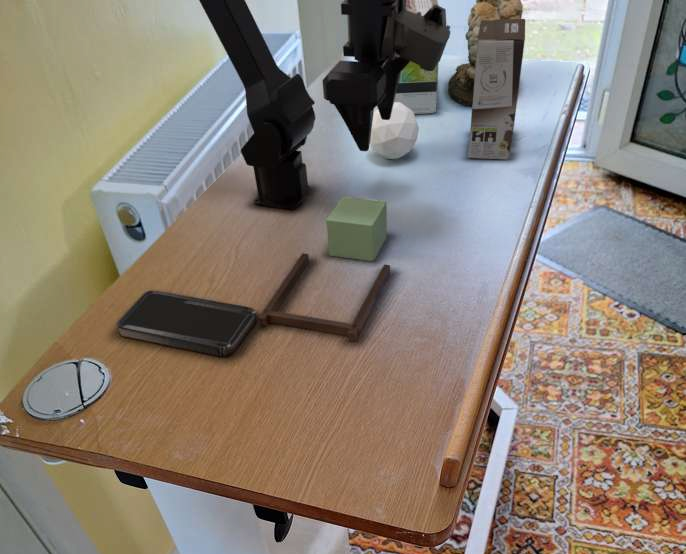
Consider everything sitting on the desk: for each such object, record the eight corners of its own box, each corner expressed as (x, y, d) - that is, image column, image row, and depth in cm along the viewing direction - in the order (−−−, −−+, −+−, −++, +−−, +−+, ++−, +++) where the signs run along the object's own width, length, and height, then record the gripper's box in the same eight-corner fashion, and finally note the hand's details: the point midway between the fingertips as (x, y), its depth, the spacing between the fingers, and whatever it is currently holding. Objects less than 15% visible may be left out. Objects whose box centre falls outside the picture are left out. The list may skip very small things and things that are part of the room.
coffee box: (510, 160, 100) (525, 39, 88) (467, 159, 102) (476, 39, 90) (512, 134, 106) (527, 17, 94) (471, 133, 108) (480, 17, 95)
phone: (227, 350, 73) (112, 326, 77) (229, 358, 74) (115, 334, 78) (258, 308, 78) (148, 287, 82) (260, 316, 78) (151, 295, 83)
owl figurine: (451, 68, 126) (457, -42, 114) (515, 68, 124) (529, -44, 112) (444, 107, 115) (450, -11, 102) (515, 108, 113) (530, -12, 100)
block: (329, 255, 86) (326, 219, 83) (344, 231, 90) (342, 196, 86) (373, 261, 85) (372, 225, 81) (387, 237, 88) (386, 201, 85)
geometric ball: (406, 171, 106) (437, 133, 100) (368, 169, 101) (399, 129, 95) (386, 132, 107) (416, 92, 101) (348, 128, 103) (377, 86, 96)
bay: (259, 325, 77) (258, 317, 77) (303, 261, 86) (302, 253, 85) (354, 342, 74) (354, 333, 73) (390, 273, 83) (390, 264, 82)
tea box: (438, 114, 113) (442, 12, 102) (378, 117, 114) (376, 17, 103) (431, 80, 123) (434, -15, 112) (377, 84, 124) (374, -11, 113)
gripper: (423, 17, 65) (418, 175, 76) (464, -35, 76) (455, 109, 88) (315, 13, 67) (327, 166, 79) (371, -37, 79) (374, 103, 91)
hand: (375, 134), depth 84 cm, fingers open, 9 cm apart
